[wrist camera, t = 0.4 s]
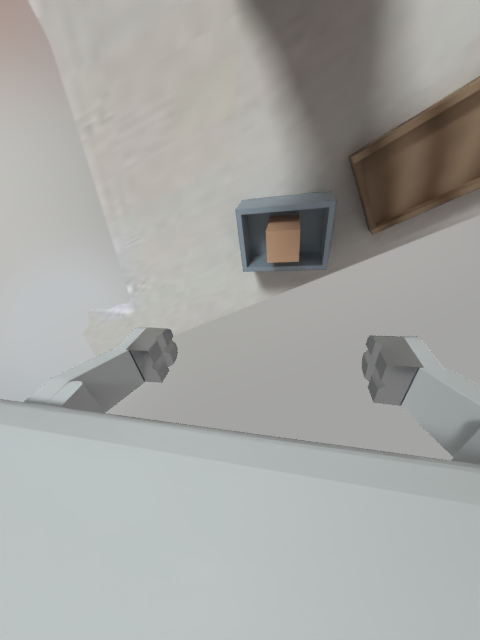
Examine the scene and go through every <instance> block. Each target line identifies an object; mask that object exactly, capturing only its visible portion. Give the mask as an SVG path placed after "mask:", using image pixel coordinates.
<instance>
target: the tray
mask: <svg viewBox="0 0 480 640" xmlns="http://www.w3.org/2000/svg"><path fill="white" fill-rule="evenodd" d="M349 159H350V162H351V166H352V170H353V174H354V177H355V181H356V185H357V188H358V192H359V196H360V200H361V203H362V207H363V211H364V215H365V218H366V222H367V226H368V230H369V231H370V232H371V233H372V235H373V234H375V233H377V232H380V231H382V230H384V229H386V228H389V227H391V226H393V225H396V224H398V223H400V222H403V221H405V220H407V219H409V218H412V217H414V216H416V215H419V214H421V213H423V212H425V211H428V210H430V209H432V208H435V207H437V206H439V205H441V204H444V203H446V202H448V201H451V200H453V199H455V198H458V197H460V196H462V195H464V194H467V193H469V192H471V191H474V190H476V189H478V188H480V76H479V77H478V78H476V79H475V80H473V81H471V82H470V83H468V84H466V85H465V86H463V87H461V88H460V89H458V90H457V91H455V92H453V93H452V94H450V95H448V96H447V97H445V98H444V99H442V100H440V101H439V102H437V103H435V104H434V105H432V106H430V107H429V108H427V109H426V110H424V111H422V112H421V113H419V114H417V115H416V116H414V117H412V118H411V119H409V120H408V121H406V122H404V123H403V124H401V125H399V126H398V127H396V128H395V129H393V130H391V131H390V132H388V133H386V134H385V135H383V136H381V137H380V138H378V139H377V140H375V141H373V142H372V143H370V144H368V145H367V146H365V147H364V148H362V149H360V150H359V151H357V152H355V153H354V154H352V155H350V156H349Z"/></svg>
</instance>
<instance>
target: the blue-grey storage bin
mask: <svg viewBox="0 0 480 640" xmlns="http://www.w3.org/2000/svg"><path fill="white" fill-rule="evenodd" d="M335 207H336V199H335V198H334V196H333V194H332V193H331V191H328V192H318V193H308V194H298V195H288V196H278V197H268V198H258V199H248V200H242V201H241V203H240V204H239V205H238V207H237V208H236V210H235V211H236V219H237V227H238V235H239V243H240V251H241V259H242V266H243V272H252V271H289V270H326V269H327V264H328V257H329V250H330V243H331V235H332V228H333V221H334V214H335ZM292 214H299V218H300V247H299V262H275V263H267V247H266V229H267V225H268V222H269V218H270V216H279V215H292Z"/></svg>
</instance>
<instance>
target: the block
mask: <svg viewBox="0 0 480 640" xmlns="http://www.w3.org/2000/svg"><path fill="white" fill-rule="evenodd" d="M266 247H267V263H275V262H299V247H300V218H299V214H292V215H279V216H270V218H269V222H268V225H267V229H266Z"/></svg>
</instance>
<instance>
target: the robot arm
mask: <svg viewBox="0 0 480 640" xmlns="http://www.w3.org/2000/svg"><path fill="white" fill-rule="evenodd" d="M172 338H173V334H172V332H171V330H170V329H165V328H147V327H139V328H136V329H135V330H134V331H133V332H132V333H131V334H130V335H129V336H128V337H127V338H126V339H125V340H124V341H123V342H122V343H121V344H120V345H119V346H118V347H117V348H116V349H111V350H109V351H107V352H105V353H103V354H101V355H99V356H97V357H94V358H92V359H90V360H88V361H86V362H84V363H82V364H80V365H78V366H75V367H74V368H71V369H69V370H67V371H65V372H63V373H61V374H59V375H56V376H54V377H52V378H51V379H50V380H49V381H48V382H46V383H45V384H44V385H43V386H42V387H40V388H39V389H38V390H37V391H36V392H35V393H34V394H32V395H31V396H30V397H29V398H28V399H27V400H25V401H24V402H18V401H11V400H3V399H0V640H480V386H479V385H478V384H476V383H474V382H472V381H470V380H468V379H467V378H465V377H463V376H461V375H459V374H457V373H456V372H454V371H452V370H449V369H444V368H443V366H442V365H441V364H440V363H439V361H438V360H437V359H436V357H435V356H434V355H433V353H432V352H431V351H430V350H429V348H428V347H427V346H426V345H425V343H424V342H423V341H422V339H421V338H419V337H417V336H400V337H395V336H369V338H368V339H367V343H366V345H367V348H368V350H367V351H366V352H365V353H364V354H363V358H362V370H363V374H364V377H365V378H366V379H367V380H368V381H369V386H368V389H369V391H370V394H371V397H372V399H373V402H375V403H383V404H392V405H400V406H401V408H403V409H404V410H405V411H406V412H407V413H408V414H409V415H410V416H411V417H412V418H413V419H414V420H415V421H416V422H417V423H418V424H419V425H420V426H421V427H422V428H423V429H425V430H426V431H427V432H428V433H429V434H430V435H431V436H432V437H433V438H434V439H435V440H436V441H437V442H438V443H440V445H441V446H442V447H443V448H444V449H445V450H447V451H448V452H449V453H450V454H451V455H452V456H453V457H454V458H453V459H452V460H443V459H436V458H428V457H420V456H414V455H407V454H399V453H392V452H385V451H378V450H370V449H363V448H355V447H348V446H341V445H333V444H326V443H318V442H311V441H303V440H296V439H289V438H281V437H274V436H267V435H259V434H252V433H245V432H237V431H230V430H223V429H216V428H208V427H201V426H194V425H187V424H179V423H172V422H164V421H157V420H150V419H142V418H135V417H128V416H121V415H113V414H106V413H105V412H107V411H108V410H109V409H110V408H112V407H113V406H114V405H116V404H117V403H118V402H120V401H121V400H122V399H124V398H125V397H126V396H127V395H129V394H130V393H131V392H133V391H134V390H135V389H137V388H138V387H139V386H140V385H142V384H143V383H144V381H145V382H161V383H162V382H163V380H164V378H165V377H166V375H167V373H168V372H169V369H168V367H169V366H171V365H172V364H173V363H174V362H175V360H176V358H177V353H178V352H177V346H176V344H175V343H174V342H173V341H172Z"/></svg>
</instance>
